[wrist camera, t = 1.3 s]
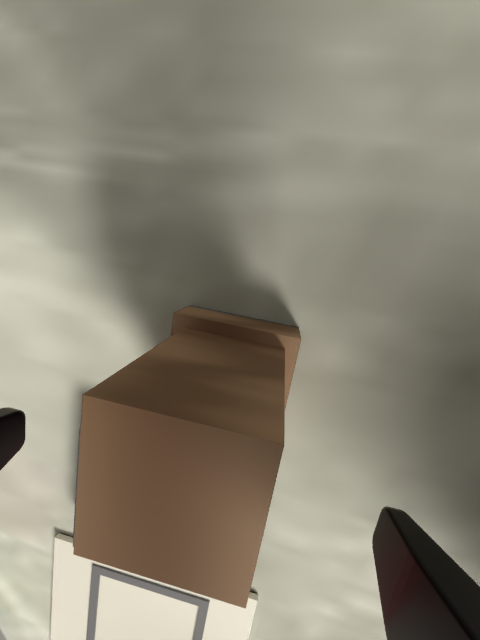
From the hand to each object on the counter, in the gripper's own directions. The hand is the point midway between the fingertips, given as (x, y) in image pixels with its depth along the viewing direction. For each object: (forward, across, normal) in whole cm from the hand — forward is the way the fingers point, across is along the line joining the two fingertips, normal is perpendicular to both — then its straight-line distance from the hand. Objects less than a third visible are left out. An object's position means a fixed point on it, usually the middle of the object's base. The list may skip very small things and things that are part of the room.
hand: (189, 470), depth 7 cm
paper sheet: (+7, +3, +17) cm, 18 cm away
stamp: (+7, 0, 0) cm, 7 cm away
